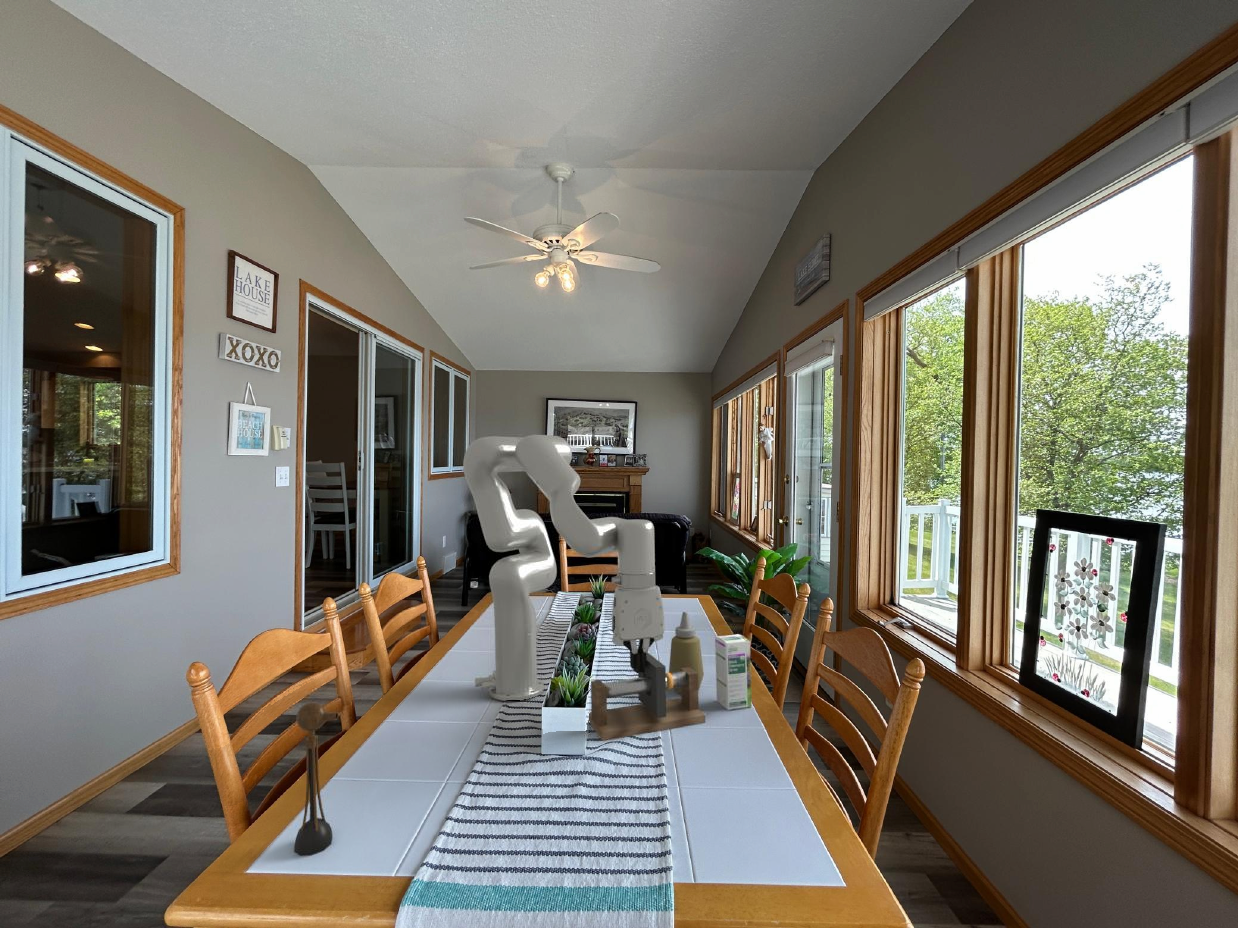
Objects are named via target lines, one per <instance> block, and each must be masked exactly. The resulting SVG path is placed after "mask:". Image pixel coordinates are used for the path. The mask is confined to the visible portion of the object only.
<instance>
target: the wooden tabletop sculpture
mask: <svg viewBox="0 0 1238 928" xmlns="http://www.w3.org/2000/svg"><path fill="white" fill-rule="evenodd" d="M338 718H339V712H338V711H331V712H330V711H329V712H328V711H327V712H326V709H325V707H324V706H323V704H320V703H318V702H316V701H313V702H307V703H305V704H304V705H302V706H301V707H300V708H299V710H297V713H296V718H295V719H296V720H295V721H296V722H297V723H296V724H297V726H299V728H301V729H302V731H307V732H308V736H307V737H305V740H304V741H305V749H306V752H305V753H306V754H305V756H306V784H305V786H306V787H305V788H306V789H305V790H306V791H305V804H304V814H303V819H302V820H303V821H302V825H301V827H300V828H299V829H298V831H297V834H296V837H295V840H294V848H293V849H294V853H296V854H297V855H298V856H303V857H304V856H312V855H315V854H318V853H320V852H321V853H322V852H324V851H325V850H326V849H327V848H328V847H330V846H331V845H332V843H333V831H332V830H333V829H332V827H331V825H330V823H328V821H326V818H325V814H324V809H323V803H322V799H321V797H322V796H321V789H320V778H319V777H320V776H319V773H320V772H319V770H320V769H319V740H318V738H319V735H317V734H316V730H319V729H321V727H323V725H324V724H325V722H327V721H337V720H338ZM317 800H318V807H319V812H320V816H321V817H318V810H317ZM308 805H309V807H308ZM308 808H309V809H308ZM308 810H309V820H307V815H308Z"/></svg>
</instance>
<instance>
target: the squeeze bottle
mask: <svg viewBox="0 0 1238 928" xmlns="http://www.w3.org/2000/svg"><path fill="white" fill-rule="evenodd" d="M674 631H675V634H674V635H675V636H673V637H672V638H671V643H670V653H669V655H670V657H669V665H668V667H669V668H668V673H674V672H681V668H687V667H690V668H691V669H693V670H694V671H696V672H697V673H698V692H699V691H700V688H701V684H702V681H703V678H704V676H705V675H704V666H703V657H702V656H703V655H702V649H701V648H702V647H701V639H700V638H699V637H698V636H697V635H696V627H695V626H692V625H691V622H690V617H689V613H688V611H683V612H682V614H681V619H680V625H679V626H678V625H677V626H676V627H675V630H674ZM673 690H674V691H675V692H676V693H678V694H681V687H678V688H673Z"/></svg>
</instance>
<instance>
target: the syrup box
mask: <svg viewBox="0 0 1238 928" xmlns="http://www.w3.org/2000/svg"><path fill="white" fill-rule="evenodd" d="M714 647H715V649H714V650H715V683H716V686H715V687H716V701H717V702H718V703H719V704H720V705H721V706H722V707H723V708H725V709H726V710H727V711H731V710H736V709H745V708H751V707H752V681H751V679H752V677H751V674H752V673H751V672H752V671H751V669H752V668H751V642H750V640H749V639H748V638H746V636H744V635H742V634H739V633H737V634H729V635H718V636H715V637H714Z"/></svg>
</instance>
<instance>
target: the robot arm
mask: <svg viewBox="0 0 1238 928" xmlns="http://www.w3.org/2000/svg"><path fill="white" fill-rule="evenodd" d="M571 448H572V447H571V446H570V444H569V442H567V440H565V439H564V438H563V437H561V436H558V435H549V434H548V435H547V434H531V435H527V436H524V437H518V436H517V437H516V436H499V435H498V436H497V435H493V436H490V435H489V436H483V437H479V438H476V439H475V440H473V441H472V442H471V443H470V444H469V445H468V447H467V448H466V451H465V452H464V457H463V463H462V465H463V474H464V478H465V481H466V483H467V486H468V488H469V490H470V493H471V495H472V497H473V501H474V504H475V507H476V508H475V509H476V512H477V516H478V519H479V522H480V527H481V530H482V534H483V537H484V540H485V543H486V546H488V548H489V549H490V550H492V551H493V552H496V553H504V552H505V553H506V552H509V551H515V550H518V551H519V553H517V554H513V555H509V556H506V557H502V558H501V559H498V560H497V561H496V562H495V563H494V564H493V565H492V566H491V569H490V571H489V575H488V578H489V579H488V580H489V587H490V591H491V597H492V602H493V614H494V615H493V616H494V648H495V649H494V653H495V661H494V662H495V669H494V670H492V674H489V675H488V676H485V677H483V676H482V677H475V678H474V685H475V687H474V688H478V687H481V690H482V689H483V690H484V689H488V694H489V696H490V697H491V698H493V699H494V700H498V701H503V702H507V701H506V700H520V701H525V700H524V699H526V700H530V699H533V698H535V697H538V696H539V695H541V694H542V693H543V692H544V689H545V685H544V683H543V681H541V679H538V662H537V661H538V660H537V658H538V657H537V655H538V654H537V650H538V649H537V619H536V618H537V614H536V610H535V607H534V605H533V602H532V600H531V599H530V594H533V593H536V592H538V591H542V590H545V589H547V588H549V587H550V586H553V583H554V582H555V580H556V578H557V573H558V571H557V569H558V568H557V563H556V558H555V555H554V552H553V549H552V545H551V541H550V538H549V534H548V531H547V528H546V525H545V523H544V521H543V519H542V517H541V516H540V515H539V514H538V513H537V512H536V511H534V510H531V509H528V508H527V509H526V508H523V509H516V508H515V506H514V503H513V500H512V495H511V493H510V490H509V487H507V485H506V483H505V482H504V481H503V480H502V479H501V478H500V477H499V476H498V473H509V472H510V473H511V472H512V473H513V472H514V473H515V472H525V473H526V474H527V476H528V477H529V478H530V479H531V480H532V481H533V483H534V484H535V485H536V486H537V488H538V489H539V490H540V491H541V493H542V494H543V495H544V496H545V498H547V500H548V501H549V513H550V516H551V517H550V518H551V521H552V524H553V526H554V529H556V532H557V533H558V534H559V535H560V537H561V538H562V539H563V540H564V542H565V543H566V544H567V545H568V546H569V547H570V549H571V550H573V551H574V552H575V553H576V554H577V555H579V556H582V557H585V558H595V557H598V556H599V557H600V556H602V555H608V554H612V553H617V573H616V574H617V575H616V576H612V577H611V583H612V584H613V585H614V584H615V585H617V586H616V587H615V590H614V595H613V602H612V610H611V611H612V614H611V631H612V638H611V639H612V640H611V641H612V644H613V645H615V646H621V647H625V648H627V650H628V651H629V663H630V664H629V666H630V668H631V669H632V670H633V671H634V672H635V673H636V674H638V673H640V672H642V673H643V672H645V666H646V665H647V659H646V652H648V653H649V650H650V648H651V646H652V645H653V644H654V643H655V642H658V641H661V640H662V639H664V634H665V631H666V629H665V627H666V626H665V625H666V624H665V614H664V605H663V598H662V593H661V589H660V586H658V585H656V565H655V562H656V558H655V557H656V556H655V555H656V554H655V552H656V551H655V526H654V524H653V522H652V521H650V520H648V519H626V518H620V517H617V516H607V517H601V518H593V519H590V518H589V517H588V516H587V515H586V514H585V513H584V512H583V510H582V509H581V508H580V507H579V505H578V504H577V503H576V501H575V498H574V495H575V494H576V492H577V491H578V490H579V488H580V485H581V477H580V474H578V473H577V471H576V470H575V469H574V468H573V467H572V466H571V465H570V464H571V461H572V457H573V452H572V449H571ZM637 640H638V644H637ZM532 697H533V698H532ZM529 698H530V699H529Z"/></svg>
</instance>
